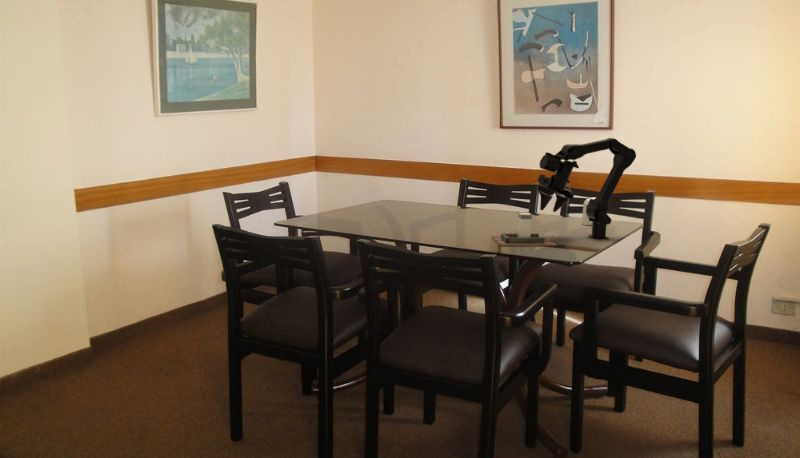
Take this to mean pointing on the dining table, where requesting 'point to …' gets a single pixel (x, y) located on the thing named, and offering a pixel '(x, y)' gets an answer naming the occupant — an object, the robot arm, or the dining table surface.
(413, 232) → the dining table surface
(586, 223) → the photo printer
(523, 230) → the cream square-faced block
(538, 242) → the brown flat board
